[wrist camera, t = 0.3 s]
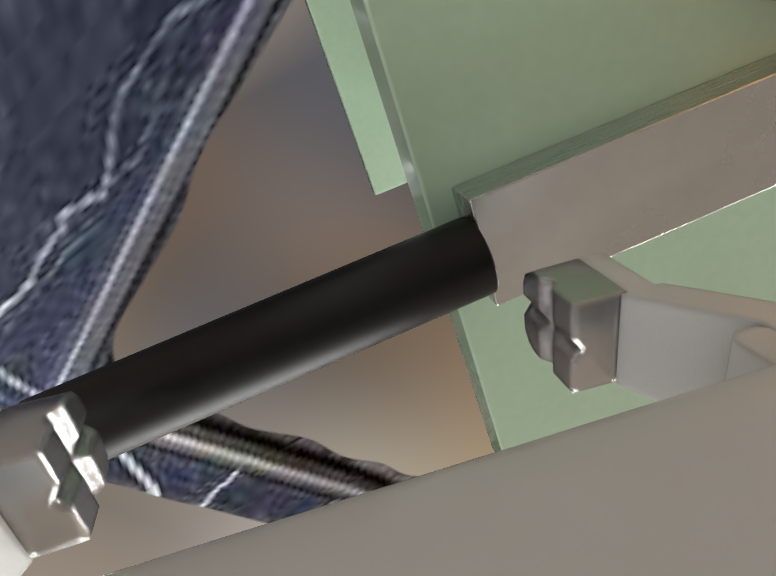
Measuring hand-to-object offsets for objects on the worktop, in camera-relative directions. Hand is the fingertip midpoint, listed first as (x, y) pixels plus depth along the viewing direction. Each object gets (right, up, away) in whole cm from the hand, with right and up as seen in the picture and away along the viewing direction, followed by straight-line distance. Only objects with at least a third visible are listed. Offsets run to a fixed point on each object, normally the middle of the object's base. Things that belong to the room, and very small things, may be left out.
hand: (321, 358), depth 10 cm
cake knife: (+5, +3, +4) cm, 7 cm away
